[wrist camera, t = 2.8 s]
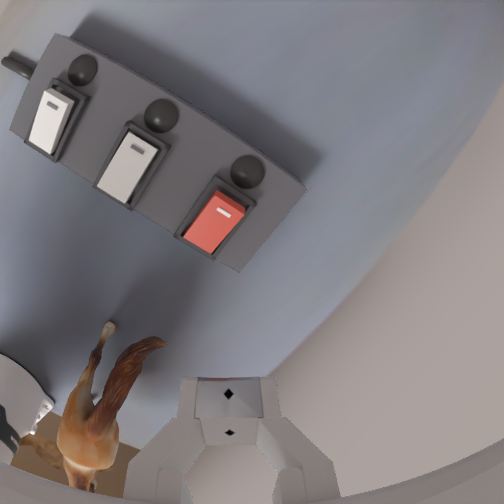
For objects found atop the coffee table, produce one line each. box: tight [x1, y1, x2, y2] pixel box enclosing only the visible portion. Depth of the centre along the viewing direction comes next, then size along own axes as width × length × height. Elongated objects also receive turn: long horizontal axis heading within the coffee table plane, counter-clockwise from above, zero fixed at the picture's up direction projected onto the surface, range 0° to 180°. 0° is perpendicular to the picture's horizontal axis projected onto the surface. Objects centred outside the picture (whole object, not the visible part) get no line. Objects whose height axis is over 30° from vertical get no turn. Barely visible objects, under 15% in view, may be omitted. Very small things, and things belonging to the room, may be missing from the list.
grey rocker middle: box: [97, 132, 158, 204], centre depth 23 cm, size 5×3×2 cm, turn 144°
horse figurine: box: [57, 321, 168, 493], centre depth 31 cm, size 31×8×21 cm, turn 148°
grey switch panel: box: [1, 33, 307, 272], centre depth 24 cm, size 10×34×4 cm, turn 54°
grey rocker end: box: [29, 88, 74, 154], centre depth 21 cm, size 5×3×2 cm, turn 143°
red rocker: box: [183, 190, 245, 254], centre depth 26 cm, size 5×3×2 cm, turn 143°
